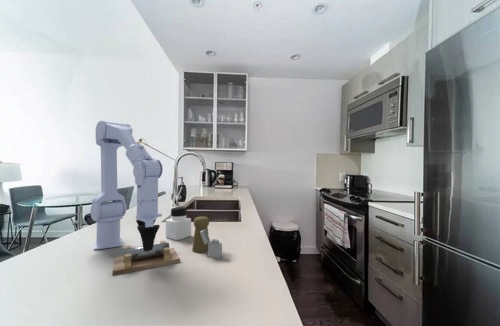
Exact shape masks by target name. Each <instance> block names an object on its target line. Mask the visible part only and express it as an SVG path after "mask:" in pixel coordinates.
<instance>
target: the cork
mask: <svg viewBox="0 0 500 326" xmlns="http://www.w3.org/2000/svg"><path fill="white" fill-rule="evenodd" d="M193 225H194V227H195V228H194V232H193V233H194V235H193V241H192V248H191V251H192V252H193V253H197V254H200V253H202V254H203V253H208V243H207V244H204V242H203V239H202V237H201V234H200V232H201V231H203V230H205V229H206V231H207V234H208V236H209V228H208V226H209V225H210V220H209V218H208V217H207V216H196V217H195V218H194V220H193ZM209 237H210V236H209Z"/></svg>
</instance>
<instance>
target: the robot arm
mask: <svg viewBox="0 0 500 326" xmlns="http://www.w3.org/2000/svg"><path fill="white" fill-rule="evenodd" d="M95 144H96V145H97V146H99V147H100V180H101V181H100V182H101V183H100V186H101V188H100V189H101V191H100V193H98V195H96V196H95V197H94V198H92V201H91V207H90V216H91V219H92V220H93V221H94V222H96V241H95V242H96V243H95V244H94V246H93V250H94V251H96V250H103V249H104V250H105V249H111V248H116V247H121V246H122V242H123V241H122V240H123V239H122V237H121V220H122V219H123V218H124V216H125V215H126V213H127V204H126V199H125V196H123V195H122V194H120V193H119V192H118V155H117V154H118V149H119V148H121V147H123V148H124V149H125V156H126V158H127V160H129V162H130V163H131V165H132V166H133V169H132V174H133V177H134V183H135V185H136V214H135V219H136V220H135V222H136V224H137V226H136V227H137V231H138V233H139V234H140V237H141V238H140V239H141V241H142V242H141V243H142V246H143V249H144V251H149V250H152V248H153V245H155V239H156V237H157V233H158V231H159V229H160V224H155V223H156V221H157V219H158V218H159V217H160V218H161V217H163V214H162V213H161V212H159V211H158V210H159V179H160V177H162V175H163V164H162V162H161V160H159V159H155V158H153V157H152V156H151V155H150V153H149V152H148V151H147V149H146V148H145V146H144V145H142V144H140V143H137V141H136V140H135V138H134V136H133V127H132V126H131V125H130V124H129V123H122V122H114V121H110V120H109V121H108V120H104V119H100V120H99V121H98V122H97V123H96V126H95Z"/></svg>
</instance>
